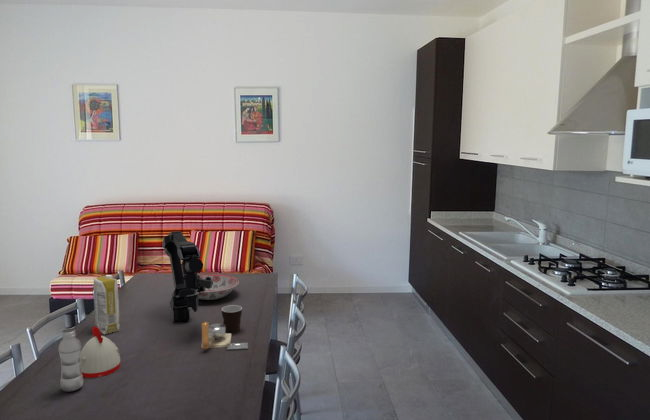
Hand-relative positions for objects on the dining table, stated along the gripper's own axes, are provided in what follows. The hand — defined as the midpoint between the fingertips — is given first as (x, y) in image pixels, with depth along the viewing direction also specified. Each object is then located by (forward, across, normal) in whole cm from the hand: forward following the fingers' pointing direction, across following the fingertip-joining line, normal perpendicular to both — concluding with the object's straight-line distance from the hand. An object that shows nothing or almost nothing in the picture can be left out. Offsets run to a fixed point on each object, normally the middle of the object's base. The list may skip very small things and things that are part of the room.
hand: (195, 311), depth 192 cm
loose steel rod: (+15, -9, -17) cm, 24 cm away
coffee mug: (+11, +10, -12) cm, 19 cm away
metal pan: (+12, -5, -6) cm, 15 cm away
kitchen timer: (+12, -24, +30) cm, 40 cm away
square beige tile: (+13, -2, -7) cm, 15 cm away
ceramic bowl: (-2, +51, +6) cm, 51 cm away
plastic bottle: (+15, -38, +32) cm, 52 cm away
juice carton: (+2, +8, +40) cm, 41 cm away
